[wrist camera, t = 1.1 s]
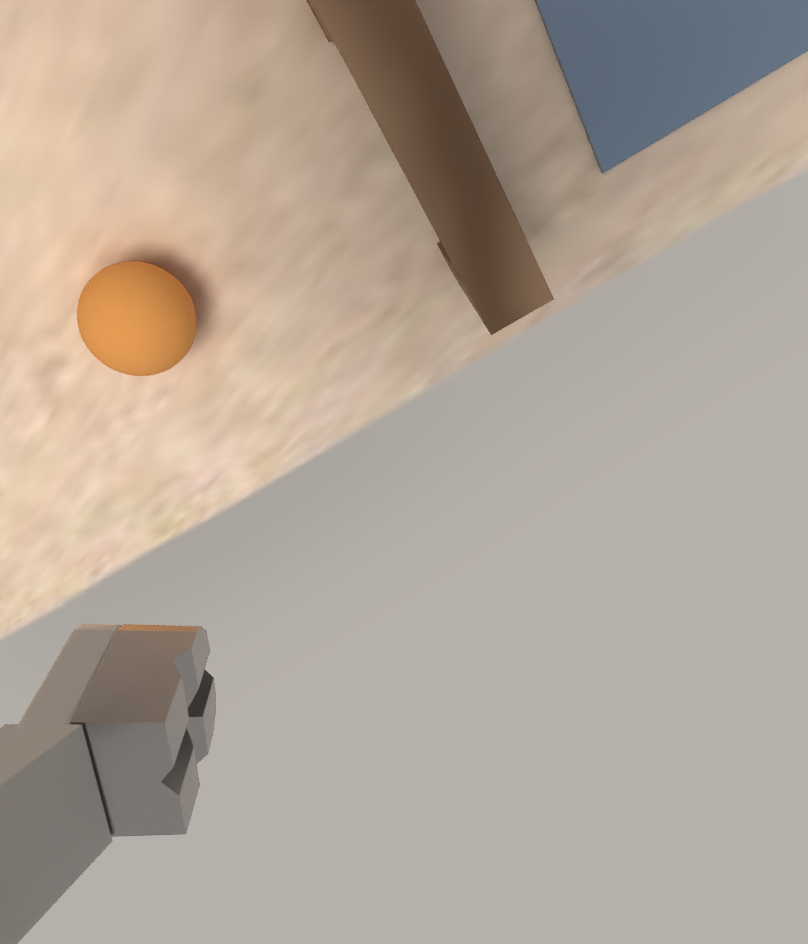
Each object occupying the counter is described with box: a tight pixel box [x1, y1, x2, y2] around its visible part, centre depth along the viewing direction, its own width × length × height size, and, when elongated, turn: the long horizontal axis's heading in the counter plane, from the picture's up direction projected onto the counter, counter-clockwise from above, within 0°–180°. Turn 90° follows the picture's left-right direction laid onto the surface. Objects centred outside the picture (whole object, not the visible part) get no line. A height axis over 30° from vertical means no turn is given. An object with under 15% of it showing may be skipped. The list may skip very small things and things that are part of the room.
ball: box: [77, 261, 197, 376], centre depth 35 cm, size 6×6×6 cm
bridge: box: [307, 0, 554, 335], centre depth 31 cm, size 3×14×9 cm, turn 29°
